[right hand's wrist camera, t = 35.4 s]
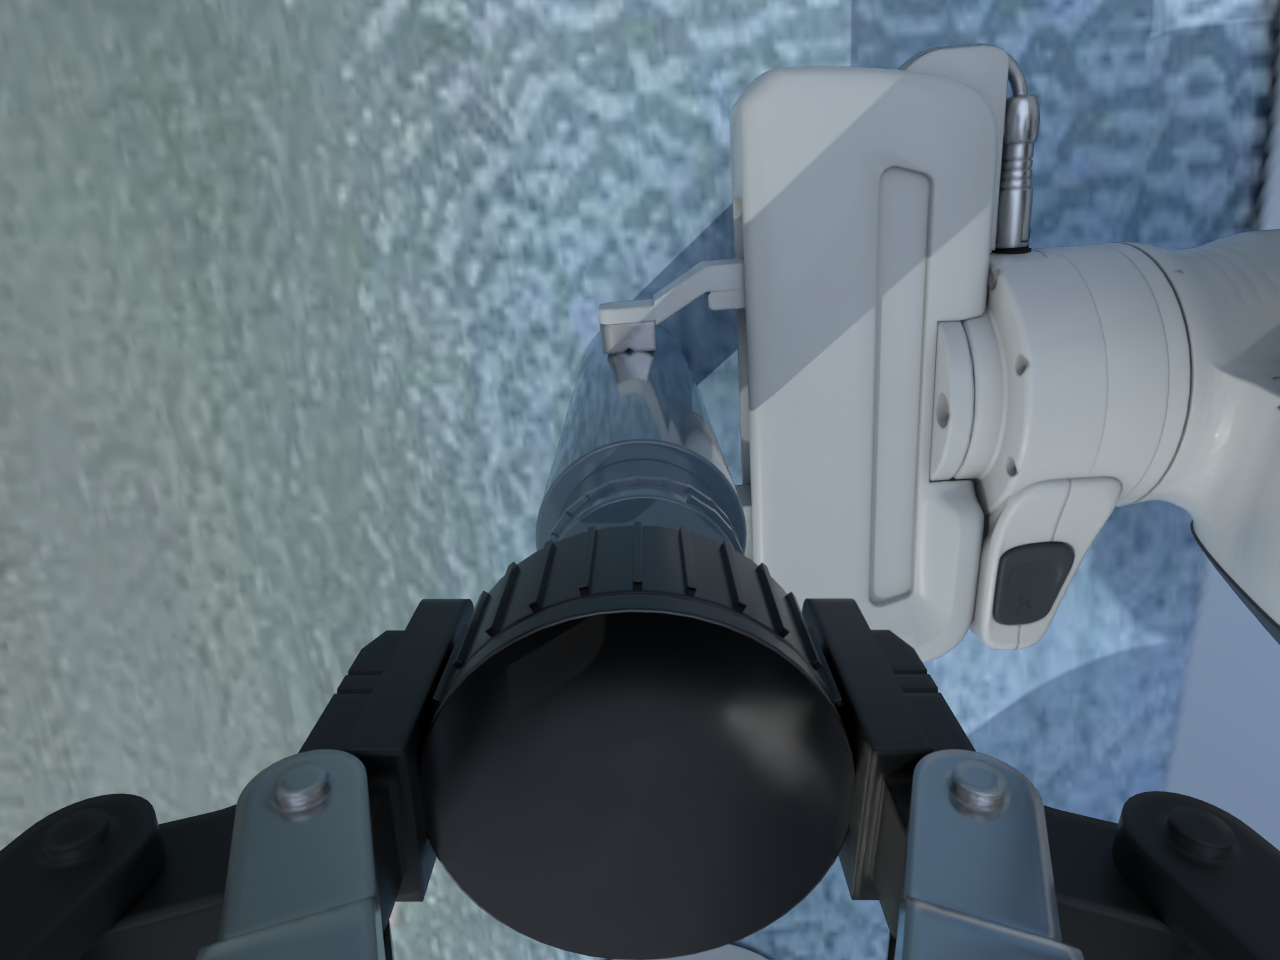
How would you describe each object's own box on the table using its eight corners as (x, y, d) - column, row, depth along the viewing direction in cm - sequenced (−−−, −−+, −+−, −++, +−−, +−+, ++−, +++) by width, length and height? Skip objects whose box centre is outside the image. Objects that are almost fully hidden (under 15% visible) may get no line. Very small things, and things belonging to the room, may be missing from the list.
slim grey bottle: (648, 443, 34) (674, 726, 15) (560, 387, 33) (478, 618, 14) (708, 358, 32) (813, 556, 14) (618, 297, 31) (608, 426, 13)
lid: (487, 478, 10) (446, 555, 8) (871, 563, 11) (931, 658, 8) (430, 792, 12) (383, 925, 10) (760, 854, 12) (786, 995, 10)
